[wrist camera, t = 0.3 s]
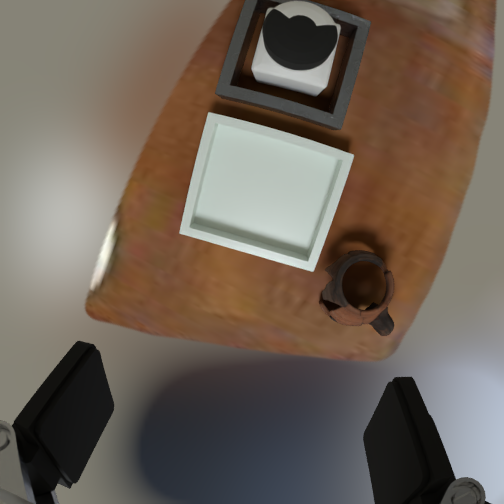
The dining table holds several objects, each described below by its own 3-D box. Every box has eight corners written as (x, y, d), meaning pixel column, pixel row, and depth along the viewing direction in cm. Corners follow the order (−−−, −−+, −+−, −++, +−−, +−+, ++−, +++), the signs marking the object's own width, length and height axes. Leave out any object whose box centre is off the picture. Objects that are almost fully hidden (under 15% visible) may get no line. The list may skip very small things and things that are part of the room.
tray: (213, 113, 34) (208, 112, 31) (348, 153, 34) (354, 155, 32) (185, 226, 39) (179, 233, 36) (310, 262, 39) (313, 271, 37)
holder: (253, 2, 28) (250, -13, 24) (360, 33, 29) (371, 21, 24) (222, 98, 33) (215, 93, 29) (333, 130, 33) (341, 129, 29)
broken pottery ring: (297, 293, 41) (311, 290, 33) (341, 241, 43) (363, 227, 35) (360, 350, 40) (385, 359, 32) (400, 298, 42) (430, 296, 34)
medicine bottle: (317, 97, 32) (336, 79, 21) (255, 82, 32) (245, 57, 21) (330, 43, 30) (353, 6, 18) (269, 28, 30) (265, -16, 18)
